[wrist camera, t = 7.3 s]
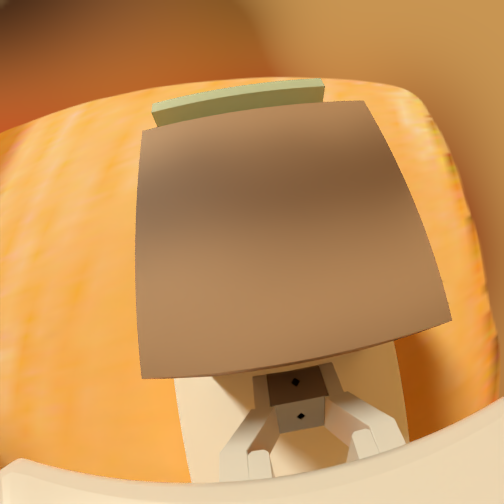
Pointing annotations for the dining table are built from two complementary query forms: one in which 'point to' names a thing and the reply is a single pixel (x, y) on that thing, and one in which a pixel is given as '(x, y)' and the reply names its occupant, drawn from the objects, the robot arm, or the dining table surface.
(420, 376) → the dining table surface
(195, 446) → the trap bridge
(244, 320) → the walnut block
